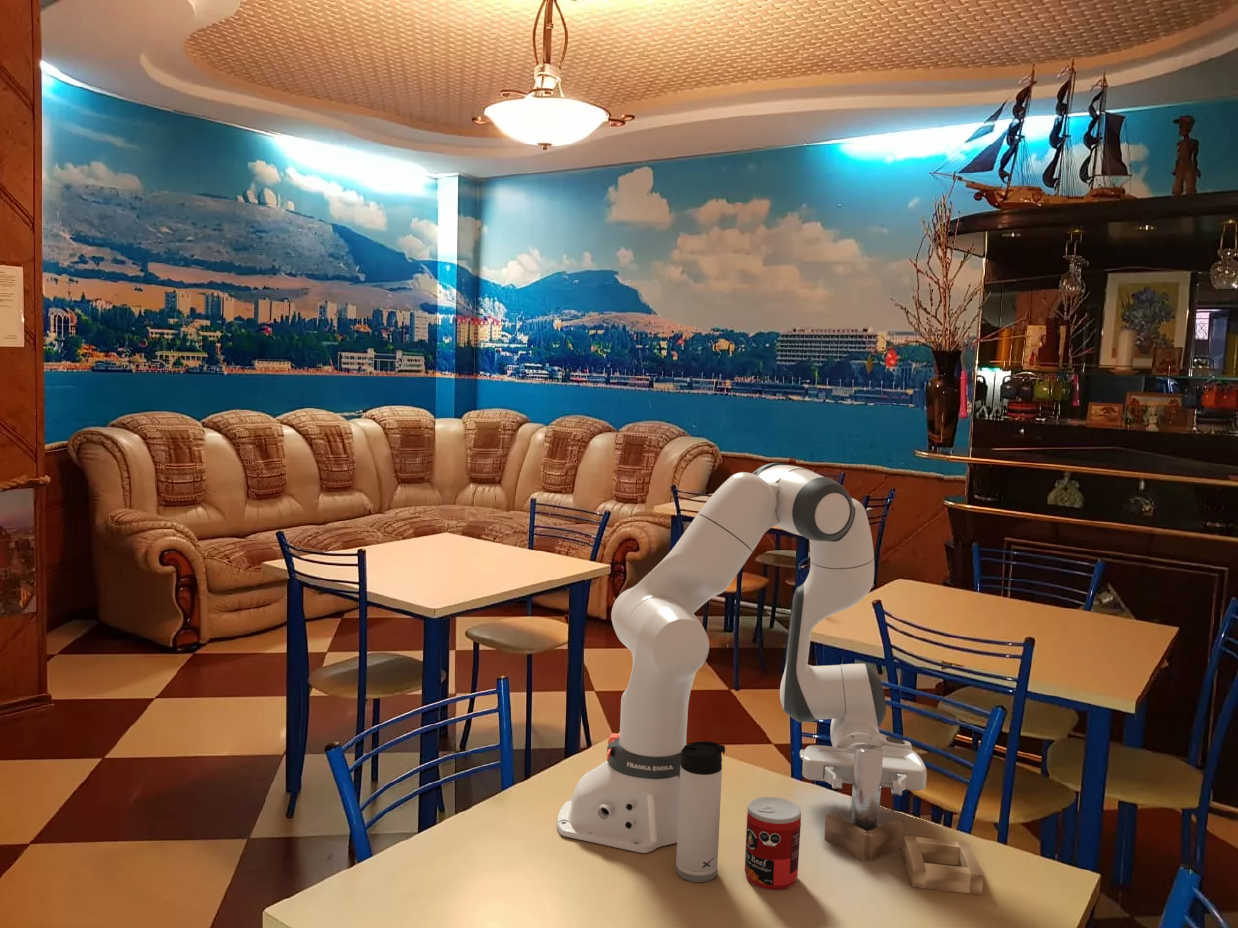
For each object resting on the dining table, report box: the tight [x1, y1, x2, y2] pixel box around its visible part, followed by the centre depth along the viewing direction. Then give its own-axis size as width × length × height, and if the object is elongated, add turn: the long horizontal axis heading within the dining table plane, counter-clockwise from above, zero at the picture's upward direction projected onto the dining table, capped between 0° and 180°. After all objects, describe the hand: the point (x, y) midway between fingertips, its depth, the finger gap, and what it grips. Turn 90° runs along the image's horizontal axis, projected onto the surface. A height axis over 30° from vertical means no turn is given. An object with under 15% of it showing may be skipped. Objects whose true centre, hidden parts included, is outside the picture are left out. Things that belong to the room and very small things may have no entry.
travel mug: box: [675, 740, 726, 883], centre depth 142 cm, size 6×7×20 cm
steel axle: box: [850, 744, 883, 831], centre depth 153 cm, size 4×4×16 cm
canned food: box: [744, 796, 802, 891], centre depth 141 cm, size 8×8×11 cm
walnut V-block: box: [824, 813, 905, 862], centre depth 151 cm, size 12×7×4 cm, turn 81°
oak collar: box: [902, 835, 984, 896], centre depth 145 cm, size 10×10×3 cm
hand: (867, 787), depth 151 cm, fingers open, 8 cm apart
